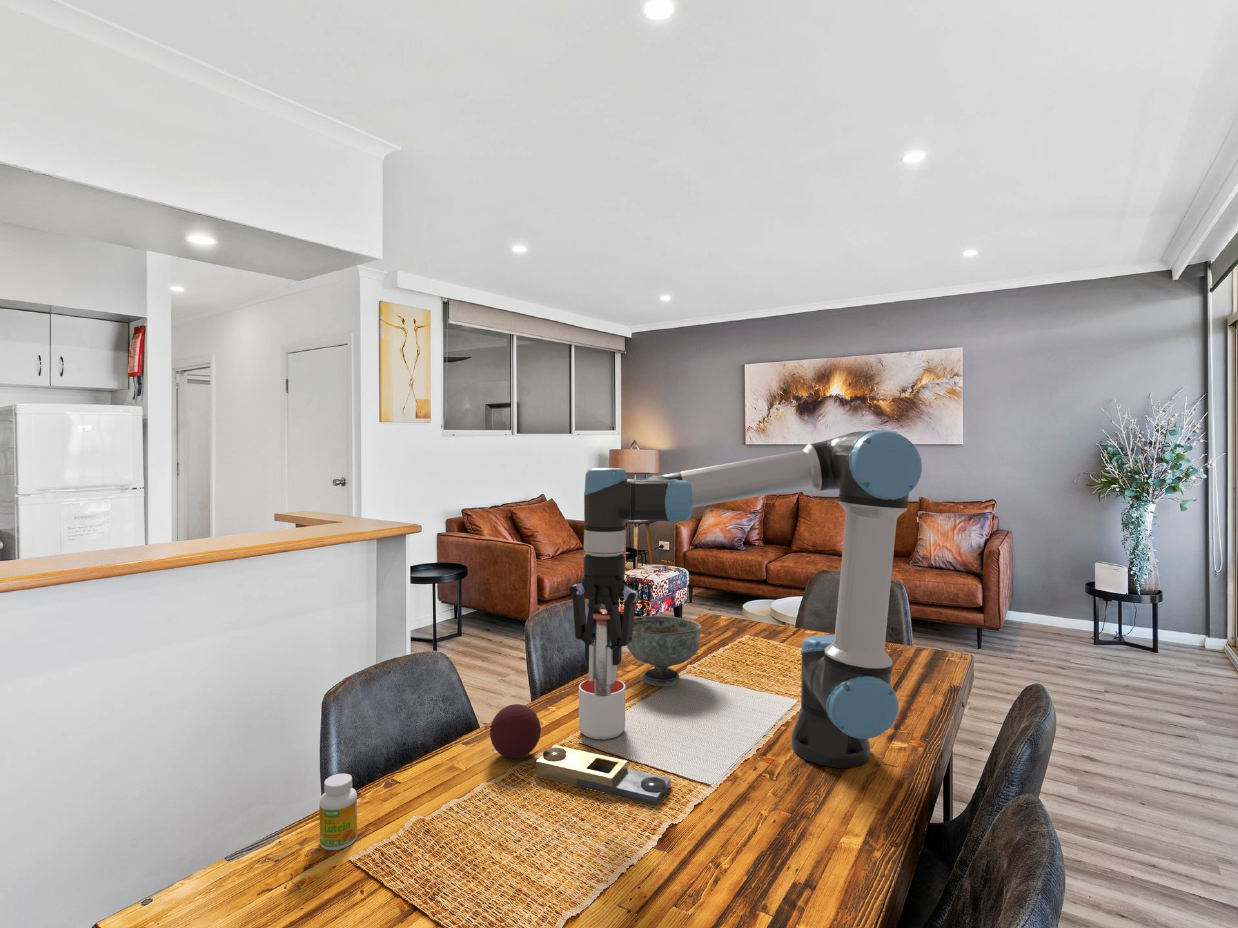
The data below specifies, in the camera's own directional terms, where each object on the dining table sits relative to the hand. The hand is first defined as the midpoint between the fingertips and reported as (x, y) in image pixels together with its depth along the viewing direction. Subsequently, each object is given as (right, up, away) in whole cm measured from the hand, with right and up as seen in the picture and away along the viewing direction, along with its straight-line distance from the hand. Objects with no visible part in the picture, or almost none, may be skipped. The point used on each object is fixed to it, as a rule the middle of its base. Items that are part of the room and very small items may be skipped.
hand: (602, 679), depth 120 cm
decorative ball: (-18, -19, +10) cm, 28 cm away
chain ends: (0, -19, 0) cm, 19 cm away
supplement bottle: (-41, -20, -18) cm, 49 cm away
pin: (0, -3, 0) cm, 3 cm away
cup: (-1, -18, +21) cm, 28 cm away
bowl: (+14, -17, +53) cm, 58 cm away
